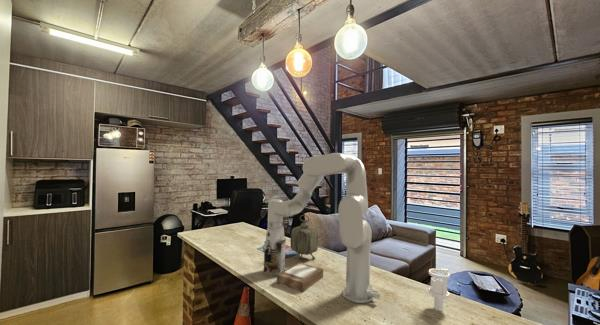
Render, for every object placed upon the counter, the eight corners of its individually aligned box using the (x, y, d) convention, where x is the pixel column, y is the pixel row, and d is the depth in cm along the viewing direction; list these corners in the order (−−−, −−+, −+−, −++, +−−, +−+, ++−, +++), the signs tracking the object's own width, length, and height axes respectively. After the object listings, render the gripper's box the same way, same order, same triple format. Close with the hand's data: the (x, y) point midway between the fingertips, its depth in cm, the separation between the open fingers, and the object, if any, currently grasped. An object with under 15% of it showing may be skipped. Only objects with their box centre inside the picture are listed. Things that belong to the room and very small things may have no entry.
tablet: (279, 243, 176) (279, 242, 176) (305, 252, 159) (305, 251, 159) (256, 249, 163) (256, 248, 163) (281, 260, 145) (281, 258, 145)
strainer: (453, 313, 95) (454, 273, 95) (435, 314, 94) (436, 273, 95) (441, 303, 102) (442, 265, 102) (424, 303, 101) (425, 265, 102)
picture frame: (323, 277, 124) (323, 267, 124) (302, 292, 109) (302, 281, 109) (298, 270, 131) (299, 261, 131) (276, 283, 116) (277, 273, 116)
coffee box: (263, 274, 126) (263, 241, 126) (268, 269, 132) (269, 237, 132) (280, 276, 123) (281, 243, 123) (285, 271, 129) (285, 239, 129)
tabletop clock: (318, 259, 147) (318, 215, 147) (308, 264, 140) (309, 218, 140) (298, 253, 156) (299, 212, 156) (288, 257, 149) (289, 214, 149)
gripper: (269, 229, 118) (268, 266, 118) (291, 222, 133) (290, 255, 133) (257, 226, 123) (256, 262, 122) (280, 220, 137) (279, 252, 137)
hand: (274, 258), depth 128 cm, fingers open, 9 cm apart
